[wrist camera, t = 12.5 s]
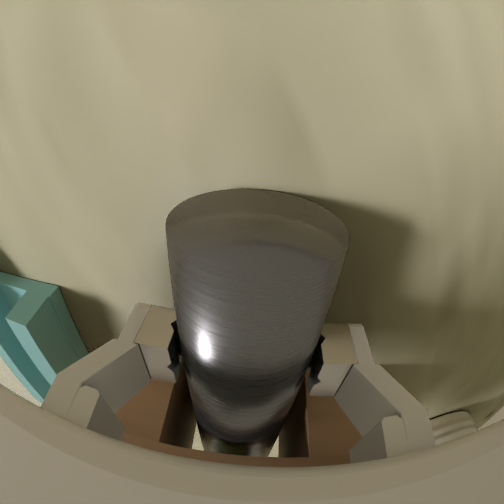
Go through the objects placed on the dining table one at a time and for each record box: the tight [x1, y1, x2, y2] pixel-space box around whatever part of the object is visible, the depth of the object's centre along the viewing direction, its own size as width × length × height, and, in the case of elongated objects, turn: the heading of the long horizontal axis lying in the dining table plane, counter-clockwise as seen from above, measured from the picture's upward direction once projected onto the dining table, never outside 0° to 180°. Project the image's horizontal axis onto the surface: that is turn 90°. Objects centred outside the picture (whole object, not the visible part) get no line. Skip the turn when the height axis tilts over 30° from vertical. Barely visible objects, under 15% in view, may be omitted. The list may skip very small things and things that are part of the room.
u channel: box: [0, 272, 89, 403], centre depth 12 cm, size 10×6×3 cm, turn 176°
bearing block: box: [114, 357, 363, 467], centre depth 12 cm, size 8×12×5 cm, turn 86°
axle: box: [166, 189, 349, 457], centre depth 10 cm, size 16×4×4 cm, turn 176°
